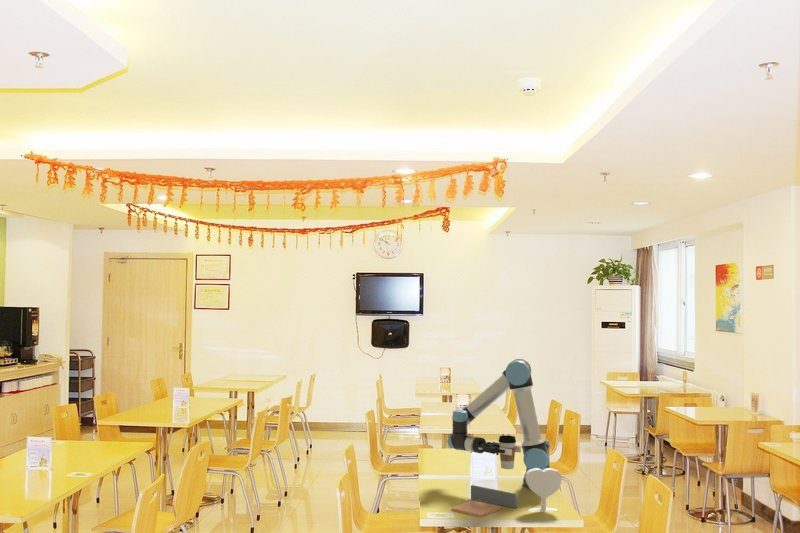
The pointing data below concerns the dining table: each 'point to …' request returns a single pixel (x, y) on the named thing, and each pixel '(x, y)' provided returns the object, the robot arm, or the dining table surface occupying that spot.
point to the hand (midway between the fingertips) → (516, 451)
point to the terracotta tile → (476, 508)
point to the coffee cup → (507, 443)
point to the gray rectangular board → (494, 496)
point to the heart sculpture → (543, 485)
